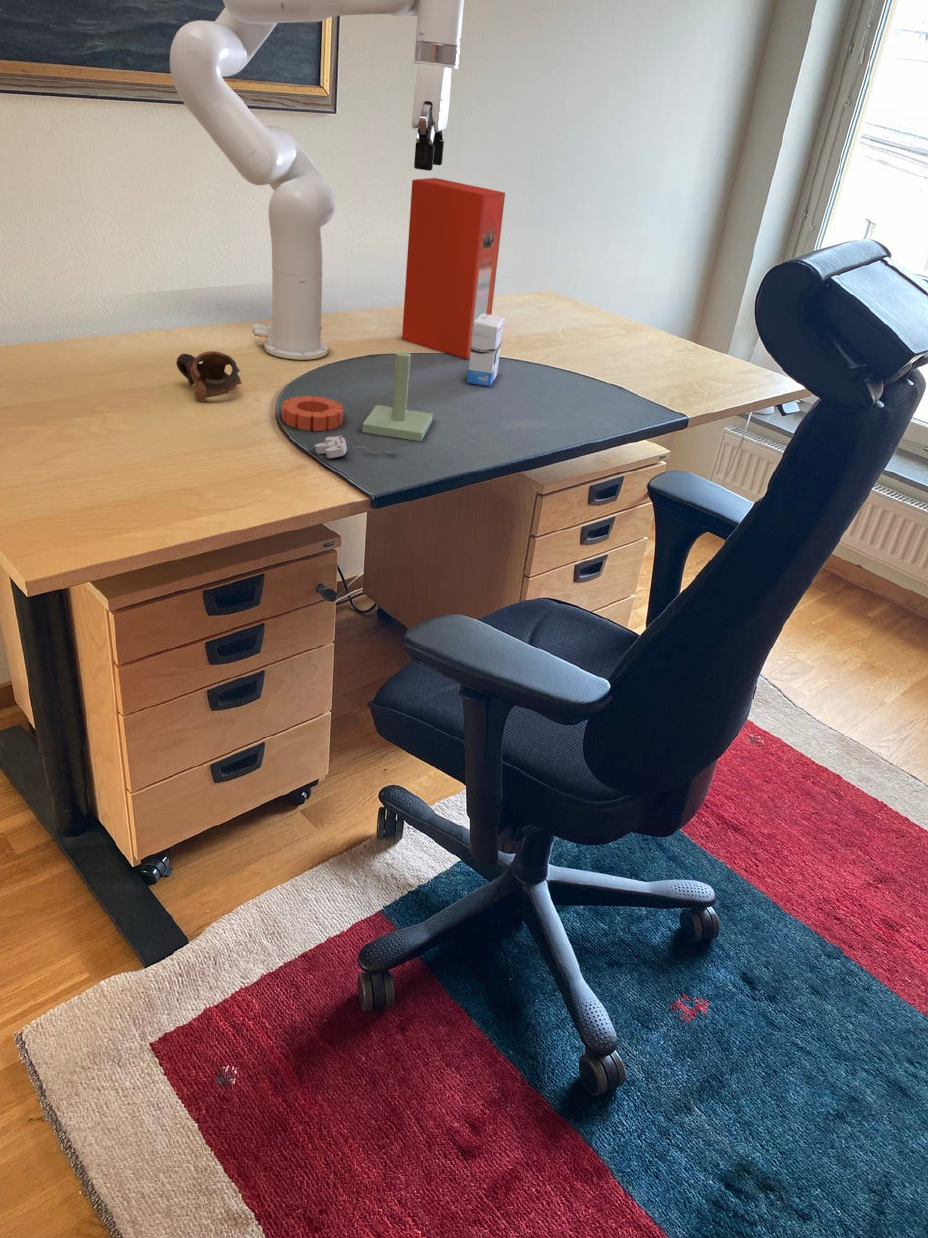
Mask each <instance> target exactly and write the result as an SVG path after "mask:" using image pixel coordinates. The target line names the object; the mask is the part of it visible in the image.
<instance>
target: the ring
mask: <svg viewBox="0 0 928 1238" xmlns="http://www.w3.org/2000/svg"><path fill="white" fill-rule="evenodd" d="M344 409H345V408H344V406H343V405H342V403H339V401H336V400H333V399H331V398H329V399H328V397H323V396H322V397H321V396H314V397H313V396H312V395H302V396H294V397H290V398H287V399H285V400H284V401H283V402H282V403H281V420H282V422H283V424H286V425H287V426H289V427H292V428H293V429H296V428H297V429H298V430H302V431H308V432H310V431H313V432H322V431H323V432H326V431H331V430H335V429H337V428H339V427H341V426H342V425H343V423H344Z"/></svg>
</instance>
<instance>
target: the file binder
mask: <svg viewBox="0 0 928 1238" xmlns="http://www.w3.org/2000/svg"><path fill="white" fill-rule="evenodd" d="M505 198H506V192H504V191H500V190H495V189H490V188H486V187H485V188H484V187H481V186H475V185H472V184H466V183H462V182H456V181H451V180H447V179H443V178H438V177H431V178H416V179H413V180H411V194H410V211H409V223H408V225H409V226H408V239H407V253H406V254H407V257H406V268H405V269H406V270H405V271H406V272H405V287H404V301H403V303H404V304H403V315H402V317H403V318H402V329H401V330H402V332H401V333H402V334H401V339H402V340H403V341H406V342H409V343H412V344H416V345H418V346H422V347H426V348H428V349H432V350H435V351H439V352H442V353H444V354H448V355H451V356H455V357H458V358H461V359H464V360H469V359H470V351H471V342H472V333H473V324H474V321H475V320H476V319H477V317H479V315H480V314H488V315H493V314H492V313H493V306H494V305H493V304H494V296H495V288H496V287H495V286H496V278H497V271H498V270H497V269H498V260H499V251H500V250H499V249H500V244H501V243H500V242H501V236H502V235H501V234H502V225H503V215H504V208H505V207H504V206H505Z"/></svg>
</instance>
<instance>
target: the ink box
mask: <svg viewBox="0 0 928 1238" xmlns="http://www.w3.org/2000/svg"><path fill="white" fill-rule="evenodd" d="M504 324H505V317H502V316H498V315H493V314H491V315H488V314H480V315H479V317H477V319H476V320H475V321H474V324H473V333H472V342H471V351H470V359H468V360H469V361H468V368H467V377H466V383H467V384H471V385H476V386H477V385H478V386H484V387H489V388H490V387H491V386H492V384H493V383H494V381H495V380H496V377H497V376H498V369H499V361H500V353H501V346H502V338H503V331H504Z"/></svg>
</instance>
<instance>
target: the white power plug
mask: <svg viewBox="0 0 928 1238" xmlns="http://www.w3.org/2000/svg"><path fill="white" fill-rule="evenodd" d="M360 447H361V448H362V446H359V445H358V446H354V447H353V449H355V448H360ZM363 448H364V449H367V452H370V453H372V454H375V452H374V451H369V450H368V448H367V447H365V446H363ZM314 450H315V454H318V455H320V454H325V455H326V458H327V459H333V458H339V457H343V456H345V455H346V453H347V451H348V447H347V442H346V439H345V438H344V437H343V436H342V434H339V435H338V436H337V435H336V436H327V437H325V439H324V442H320V443H316V444H314ZM386 452H388V453H391V456H392V455H393V454H392V452H390V451H387V450H386ZM379 453H380V451H379V452H377V454H379Z"/></svg>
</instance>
